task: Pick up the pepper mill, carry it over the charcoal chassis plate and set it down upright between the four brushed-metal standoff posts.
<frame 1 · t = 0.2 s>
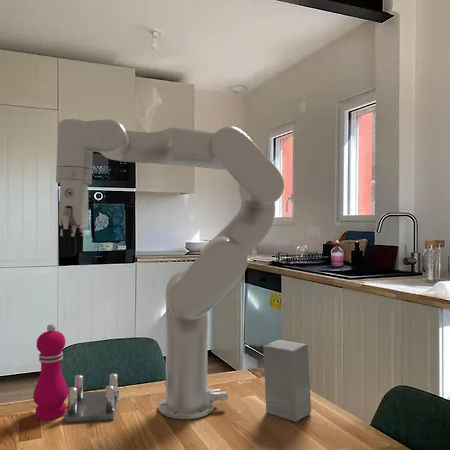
hand: (71, 254, 100), 36 cm above the table, tool pointing down, fingers open, 9 cm apart
pepper mill: (50, 415, 100), on the table
chassis: (93, 408, 103), on the table
skincare box: (286, 415, 101), on the table
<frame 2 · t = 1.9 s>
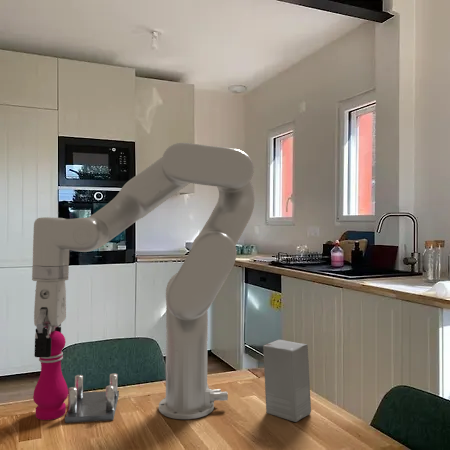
hand: (48, 350, 100), 14 cm above the table, tool pointing down, fingers open, 9 cm apart
nothing on the table moved.
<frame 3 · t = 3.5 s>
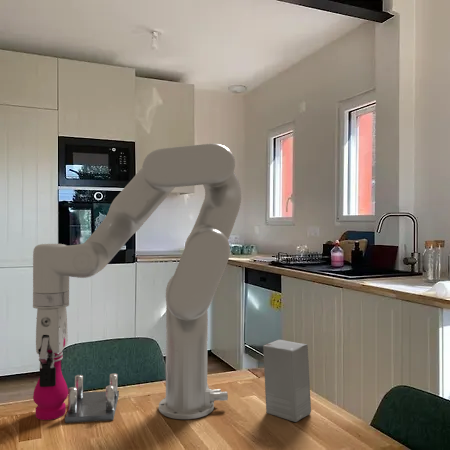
hand: (50, 380, 100), 7 cm above the table, tool pointing down, fingers closed on pepper mill, 5 cm apart
pepper mill: (50, 415, 100), on the table, touching gripper
everything else where it was.
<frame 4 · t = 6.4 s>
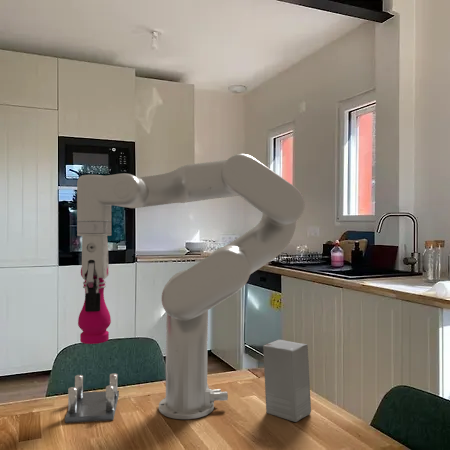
hand: (94, 307, 103), 23 cm above the table, tool pointing down, fingers closed on pepper mill, 5 cm apart
pepper mill: (94, 341, 103), point 15 cm above the table, touching gripper
everything else where it was.
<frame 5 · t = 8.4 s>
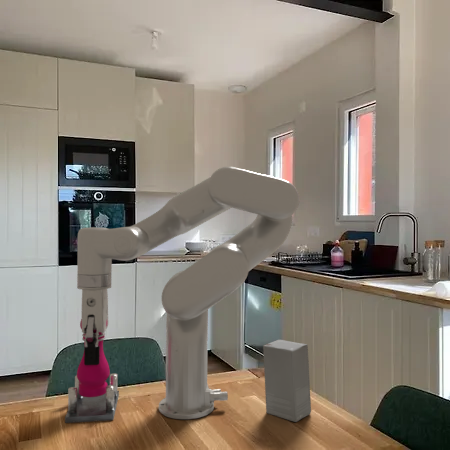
hand: (93, 359, 103), 11 cm above the table, tool pointing down, fingers closed on pepper mill, 5 cm apart
pepper mill: (93, 393, 103), point 3 cm above the table, touching gripper
everything else where it was.
when the fingers open (9 cm above the table, at t = 9.6 s): pepper mill stays where it is, resting on chassis.
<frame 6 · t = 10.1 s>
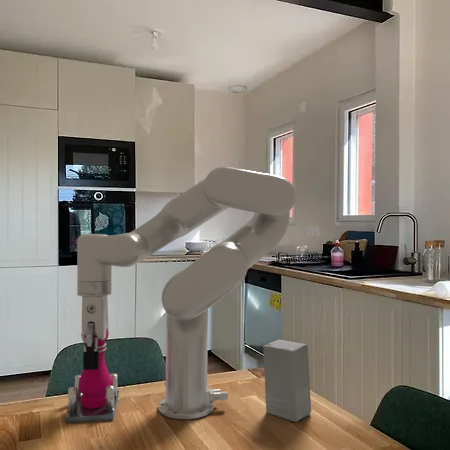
hand: (94, 362, 103), 10 cm above the table, tool pointing down, fingers open, 9 cm apart
pepper mill: (94, 404, 103), point 1 cm above the table, touching chassis
everything else where it was.
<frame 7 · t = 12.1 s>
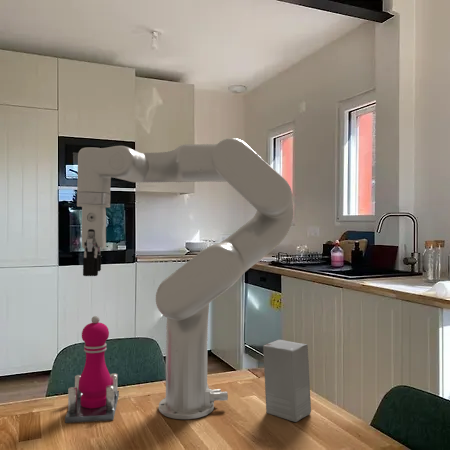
hand: (92, 273, 106), 31 cm above the table, tool pointing down, fingers open, 9 cm apart
nothing on the table moved.
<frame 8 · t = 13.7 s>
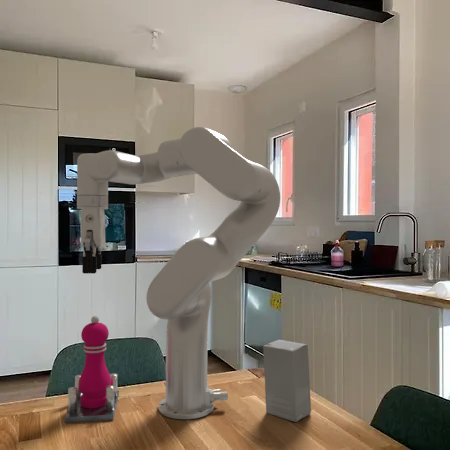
hand: (92, 271, 114), 30 cm above the table, tool pointing down, fingers open, 9 cm apart
nothing on the table moved.
at the end: pepper mill 0.3 cm off-centre on the chassis, point 1.0 cm above the chassis's base; pepper mill tilted 0°; the gripper is holding nothing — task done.
